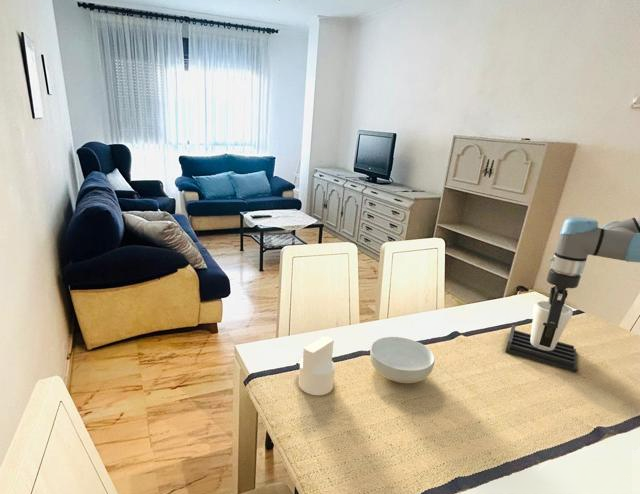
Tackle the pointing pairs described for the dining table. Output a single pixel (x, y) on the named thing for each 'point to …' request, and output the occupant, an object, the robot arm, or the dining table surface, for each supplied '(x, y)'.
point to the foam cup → (541, 317)
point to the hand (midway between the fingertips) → (545, 336)
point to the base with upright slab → (317, 367)
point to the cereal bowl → (401, 359)
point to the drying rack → (542, 351)
